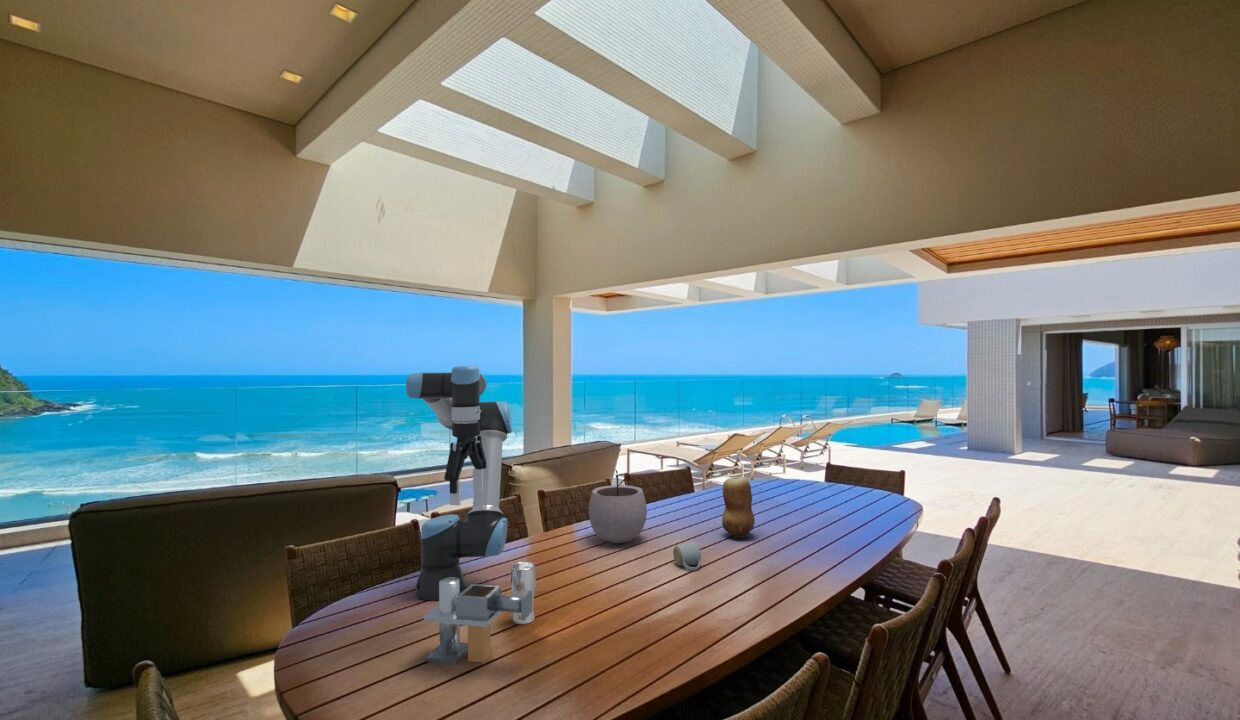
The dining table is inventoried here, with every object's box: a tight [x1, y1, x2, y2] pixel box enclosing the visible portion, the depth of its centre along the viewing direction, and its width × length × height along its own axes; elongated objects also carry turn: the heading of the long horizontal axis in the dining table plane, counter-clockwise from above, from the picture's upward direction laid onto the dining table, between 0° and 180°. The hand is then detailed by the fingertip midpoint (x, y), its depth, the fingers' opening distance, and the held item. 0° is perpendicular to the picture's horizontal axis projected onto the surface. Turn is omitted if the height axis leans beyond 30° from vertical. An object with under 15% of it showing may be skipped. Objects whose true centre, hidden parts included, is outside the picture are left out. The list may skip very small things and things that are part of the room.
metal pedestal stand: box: [423, 577, 502, 665], centre depth 131 cm, size 16×10×18 cm, turn 78°
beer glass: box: [510, 561, 537, 625], centre depth 150 cm, size 7×7×15 cm
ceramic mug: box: [672, 541, 702, 572], centre depth 189 cm, size 11×8×8 cm
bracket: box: [456, 583, 532, 621], centre depth 129 cm, size 17×8×5 cm, turn 78°
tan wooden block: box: [467, 624, 492, 663], centre depth 130 cm, size 4×4×12 cm
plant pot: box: [588, 468, 648, 544], centre depth 219 cm, size 24×24×30 cm
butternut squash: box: [721, 476, 755, 539], centre depth 222 cm, size 14×13×25 cm
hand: (467, 498), depth 147 cm, fingers open, 13 cm apart
